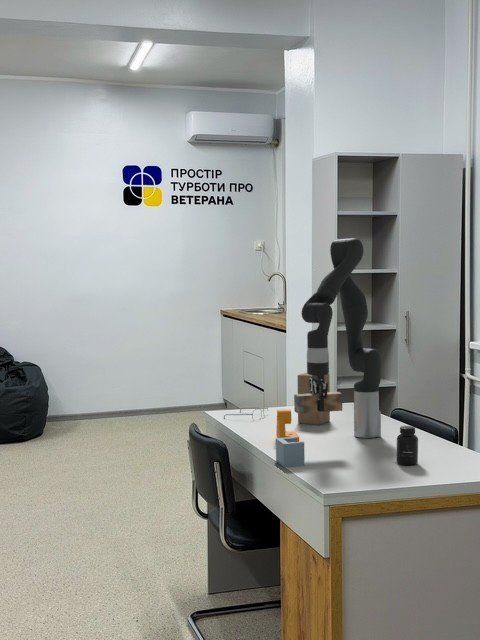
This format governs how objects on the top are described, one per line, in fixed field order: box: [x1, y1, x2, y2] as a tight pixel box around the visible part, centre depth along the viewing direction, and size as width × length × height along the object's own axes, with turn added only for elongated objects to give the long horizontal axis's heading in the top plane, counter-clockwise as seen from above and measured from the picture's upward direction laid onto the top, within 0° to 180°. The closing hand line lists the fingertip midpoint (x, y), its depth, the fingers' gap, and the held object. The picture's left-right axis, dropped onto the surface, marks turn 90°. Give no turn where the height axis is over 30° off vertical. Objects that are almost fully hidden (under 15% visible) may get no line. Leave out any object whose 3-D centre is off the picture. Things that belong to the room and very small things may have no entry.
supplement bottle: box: [396, 425, 419, 467], centre depth 264 cm, size 7×7×12 cm
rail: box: [293, 391, 343, 415], centre depth 281 cm, size 16×4×6 cm, turn 104°
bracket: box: [276, 408, 300, 442], centre depth 300 cm, size 11×7×12 cm, turn 4°
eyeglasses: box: [223, 404, 269, 422], centre depth 351 cm, size 16×15×5 cm
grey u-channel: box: [275, 437, 306, 468], centre depth 267 cm, size 7×9×8 cm
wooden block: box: [297, 372, 331, 426], centre depth 336 cm, size 10×10×20 cm
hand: (318, 409), depth 281 cm, fingers closed on rail, 4 cm apart
